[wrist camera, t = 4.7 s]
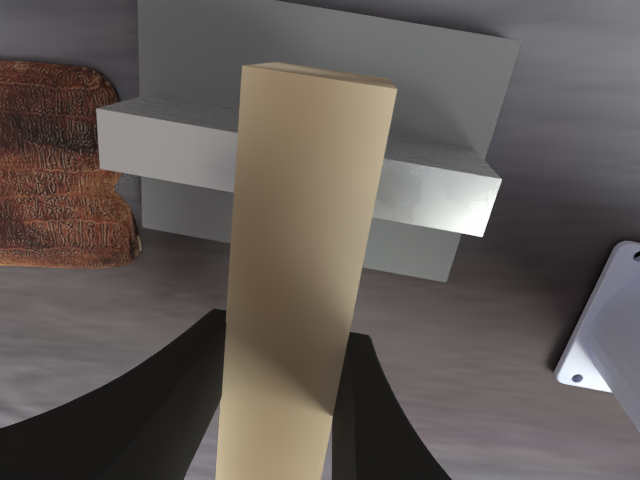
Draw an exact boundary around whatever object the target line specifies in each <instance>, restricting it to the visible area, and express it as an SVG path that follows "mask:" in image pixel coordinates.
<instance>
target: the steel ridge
mask: <svg viewBox="0 0 640 480" xmlns="http://www.w3.org/2000/svg"><path fill="white" fill-rule="evenodd" d="M96 114H97V130H98V146H99V162H100V169H104V170H110V171H116V172H121V173H127V174H132V175H138V176H144V177H149V178H155V179H160V180H166V181H172V182H177V183H183V184H189V185H194V186H200V187H205V188H211V189H217V190H222V191H228V192H233V193H234V185H235V169H236V154H237V138H238V123H239V109H238V108H232V107H226V106H220V105H215V104H209V103H203V102H197V101H191V100H186V99H180V98H174V97H168V96H163V95H157V94H148V95H144V96H141V97H137V98H133V99H129V100H126V101H122V102H118V103H115V104H111V105H107V106H103V107H100V108H96ZM501 181H502V179H501V177H500V176H499V175H498V174H497V173H496V172H495V171H494V170H493V169H492V168H491V167H490V165H489V164H488V163H487V162H486V161H485V160H484V159H483V158H482V157H481V156H480V155H479V153H478V152H477V151H476V150H475V149H469V148H464V147H458V146H452V145H446V144H440V143H435V142H429V141H423V140H417V139H411V138H406V137H400V136H394V135H388V139H387V144H386V149H385V154H384V159H383V164H382V169H381V175H380V180H379V185H378V190H377V195H376V200H375V205H374V210H373V215H372V217H374V218H379V219H385V220H391V221H396V222H402V223H407V224H413V225H419V226H424V227H430V228H436V229H441V230H447V231H452V232H458V233H464V234H469V235H475V236H480V237H483V234H484V231H485V228H486V225H487V222H488V219H489V216H490V213H491V210H492V207H493V205H494V202H495V199H496V196H497V193H498V190H499V187H500V184H501Z"/></svg>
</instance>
